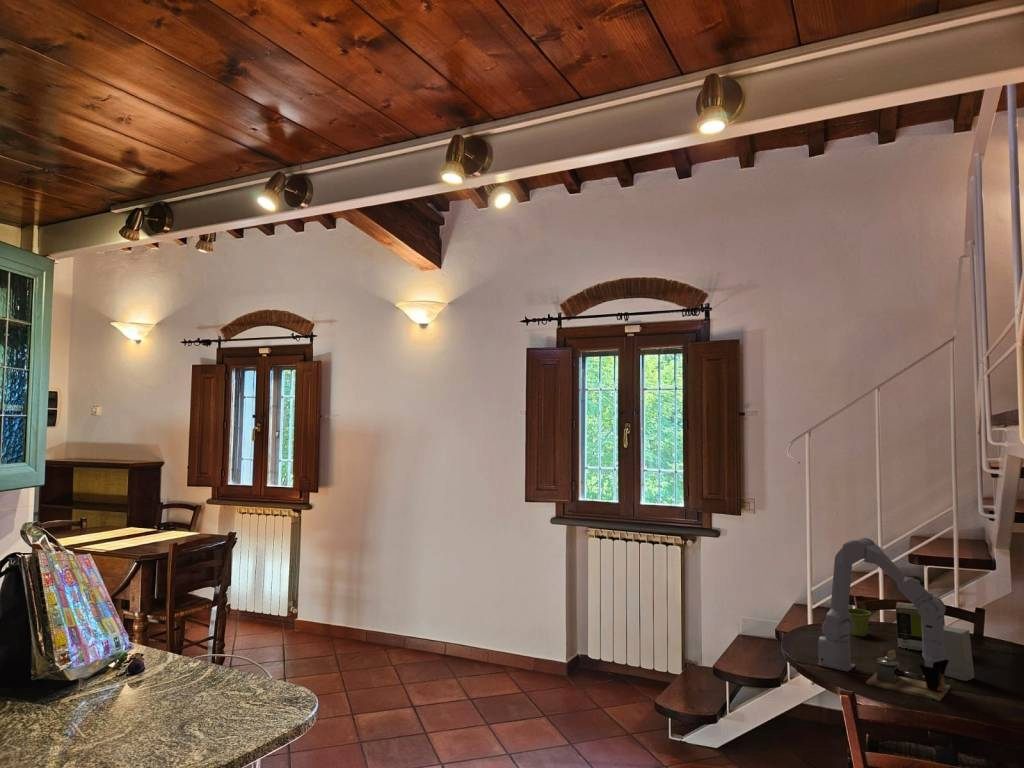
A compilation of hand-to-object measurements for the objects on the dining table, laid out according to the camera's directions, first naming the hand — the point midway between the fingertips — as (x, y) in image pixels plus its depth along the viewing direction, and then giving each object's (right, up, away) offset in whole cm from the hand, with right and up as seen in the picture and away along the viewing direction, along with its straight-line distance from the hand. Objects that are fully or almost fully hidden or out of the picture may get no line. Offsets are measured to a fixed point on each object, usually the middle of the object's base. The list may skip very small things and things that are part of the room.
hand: (935, 686), depth 198 cm
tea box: (+22, -6, +42) cm, 48 cm away
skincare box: (+15, -3, +13) cm, 20 cm away
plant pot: (+8, -7, +59) cm, 60 cm away
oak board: (-5, -2, +5) cm, 8 cm away
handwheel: (-8, +3, +10) cm, 13 cm away
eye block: (-9, -3, +9) cm, 13 cm away
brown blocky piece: (-3, -1, +3) cm, 4 cm away
